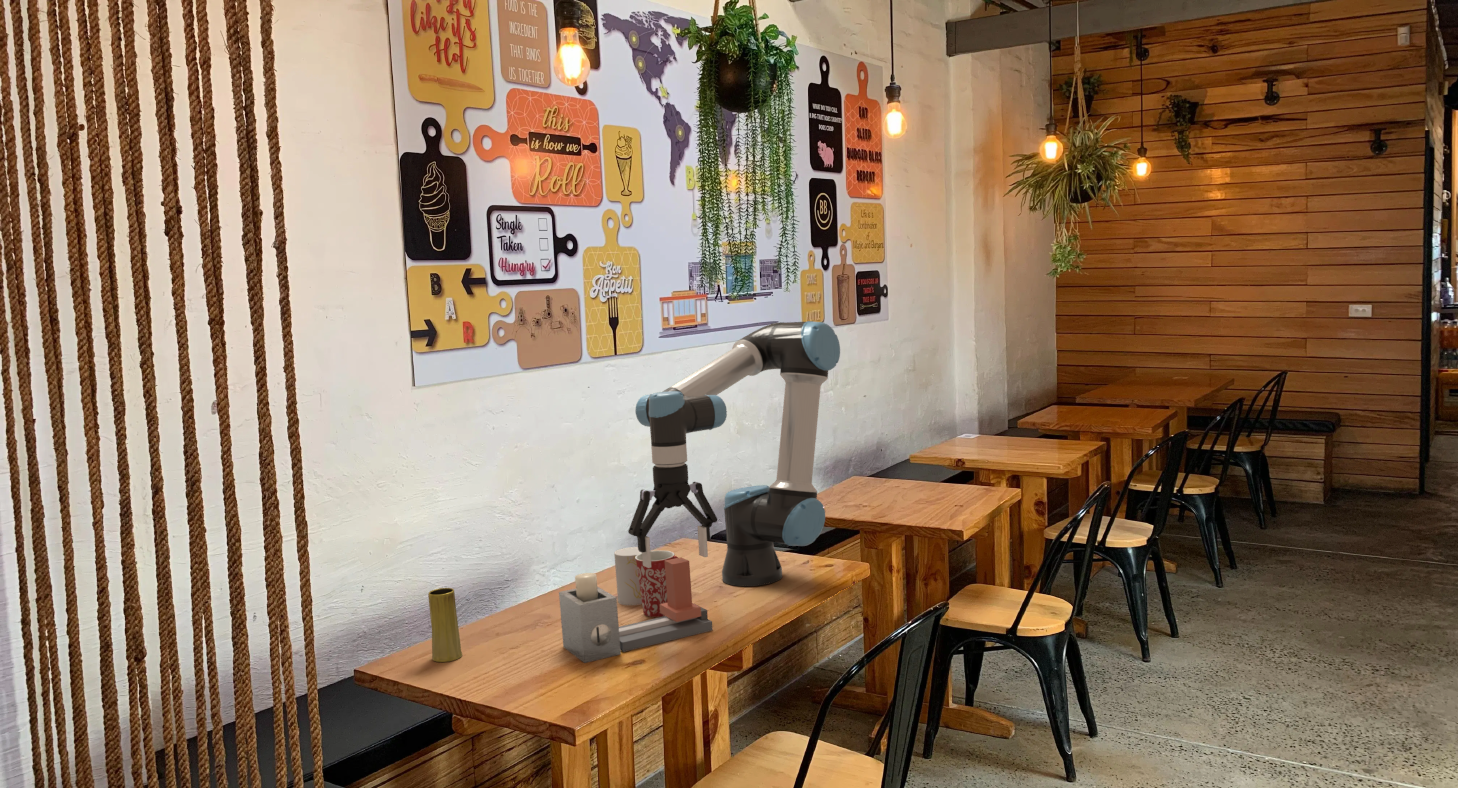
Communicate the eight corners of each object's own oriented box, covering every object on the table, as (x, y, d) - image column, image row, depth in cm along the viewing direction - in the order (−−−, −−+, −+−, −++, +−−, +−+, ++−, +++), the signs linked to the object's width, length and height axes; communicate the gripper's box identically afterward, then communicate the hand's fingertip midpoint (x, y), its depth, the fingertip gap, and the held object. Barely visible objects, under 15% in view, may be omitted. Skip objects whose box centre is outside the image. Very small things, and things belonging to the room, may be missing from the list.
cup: (631, 607, 251) (627, 557, 250) (611, 601, 257) (607, 552, 256) (658, 599, 256) (655, 550, 255) (638, 593, 262) (635, 545, 261)
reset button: (593, 594, 224) (591, 571, 224) (601, 599, 221) (599, 576, 220) (573, 598, 222) (571, 575, 222) (581, 603, 218) (579, 580, 218)
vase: (437, 653, 227) (431, 587, 226) (465, 651, 227) (459, 586, 225) (428, 663, 221) (422, 596, 220) (457, 661, 221) (451, 594, 219)
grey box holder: (598, 638, 230) (594, 584, 228) (622, 655, 219) (617, 598, 217) (563, 647, 226) (558, 591, 225) (585, 663, 215) (580, 606, 214)
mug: (661, 620, 239) (656, 562, 238) (631, 615, 245) (626, 557, 244) (696, 605, 249) (692, 548, 248) (667, 600, 255) (663, 544, 253)
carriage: (684, 607, 237) (680, 554, 236) (701, 616, 230) (697, 561, 229) (660, 612, 234) (656, 559, 233) (676, 621, 227) (672, 567, 226)
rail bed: (691, 618, 239) (690, 601, 239) (712, 630, 231) (711, 612, 230) (604, 639, 229) (603, 621, 229) (623, 651, 221) (621, 633, 220)
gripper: (712, 455, 238) (718, 548, 240) (609, 469, 226) (615, 567, 228) (729, 458, 231) (734, 554, 234) (623, 473, 220) (629, 574, 222)
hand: (675, 561), depth 231 cm, fingers open, 13 cm apart
